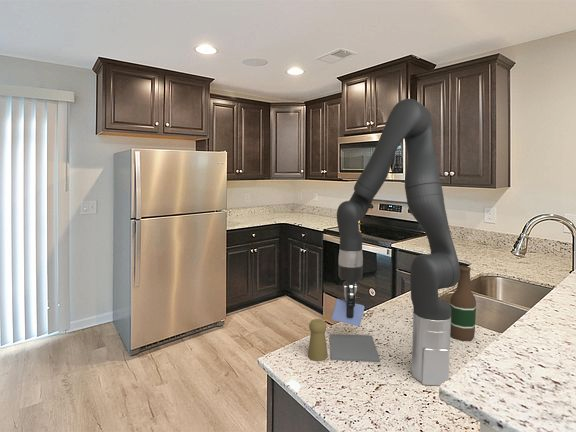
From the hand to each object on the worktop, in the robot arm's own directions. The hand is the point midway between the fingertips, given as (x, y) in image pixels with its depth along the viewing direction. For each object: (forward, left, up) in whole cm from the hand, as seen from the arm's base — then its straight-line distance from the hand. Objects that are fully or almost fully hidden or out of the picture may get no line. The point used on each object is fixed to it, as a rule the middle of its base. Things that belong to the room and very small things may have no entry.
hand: (349, 315), depth 110 cm
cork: (-9, +10, -9) cm, 17 cm away
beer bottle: (+8, -38, -9) cm, 40 cm away
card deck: (0, +1, -2) cm, 3 cm away
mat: (-3, -1, -9) cm, 10 cm away
